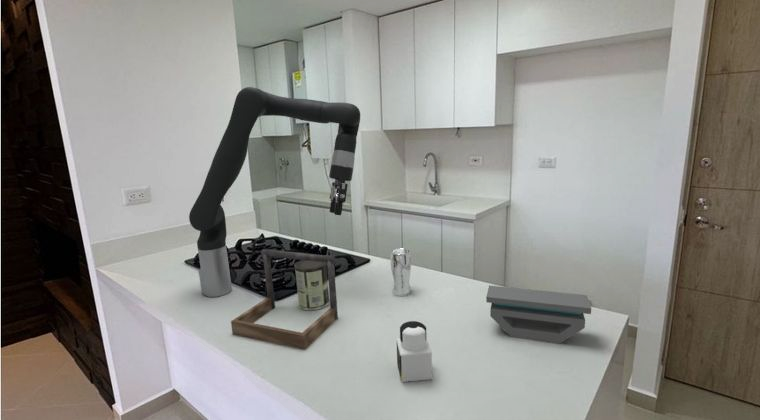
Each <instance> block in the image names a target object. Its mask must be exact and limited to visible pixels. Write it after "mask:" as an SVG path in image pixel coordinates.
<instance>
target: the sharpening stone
mask: <svg viewBox="0 0 760 420" xmlns="http://www.w3.org/2000/svg"><path fill="white" fill-rule="evenodd" d="M486 292H487V293H486V300H485V301H486V303H491V304H490V309H489V310H490V318H492V319H493V320H494V321H495V322H496V323H497V325H499V327H500V328H501V329H503V330H504V332H505V333H506V334H508V335H509V336H510V338H515V339H521V340H526V341H527V340H528V341H535V342H541V343H542V342H543V343H549V344H550V343H551V344H556V345H559V344H561V343H563V342H564V341H566V340H568V339H569V338H571V337H572V336H574V335H576V334H578V333H579V332H581V331H582V330H584V329H585V327H586V317H585V314H586V315H591V314H592V306H591V303H590V301H589V298H588V297H589V296H588V295H587V294H582V293H581V294H580V293H579V294H578V293H570V292H569V293H568V292H560V291H559V292H558V291H549V290H540V289H530V288H528V289H527V288H519V287H508V286H499V285H488V288H487V291H486Z"/></svg>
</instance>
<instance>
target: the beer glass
mask: <svg viewBox="0 0 760 420" xmlns="http://www.w3.org/2000/svg"><path fill="white" fill-rule="evenodd" d="M411 257H412V256H411V250H410V249H408V248H405V247H404V248H403V247H401V248H400V247H397V248H393V249H391V250H390V270H391V275H392V279H393V287H392V294H393V295H395V296H398V297H406V296H409V295H410V294H411V287H410V276H411V270H412V258H411Z"/></svg>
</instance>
